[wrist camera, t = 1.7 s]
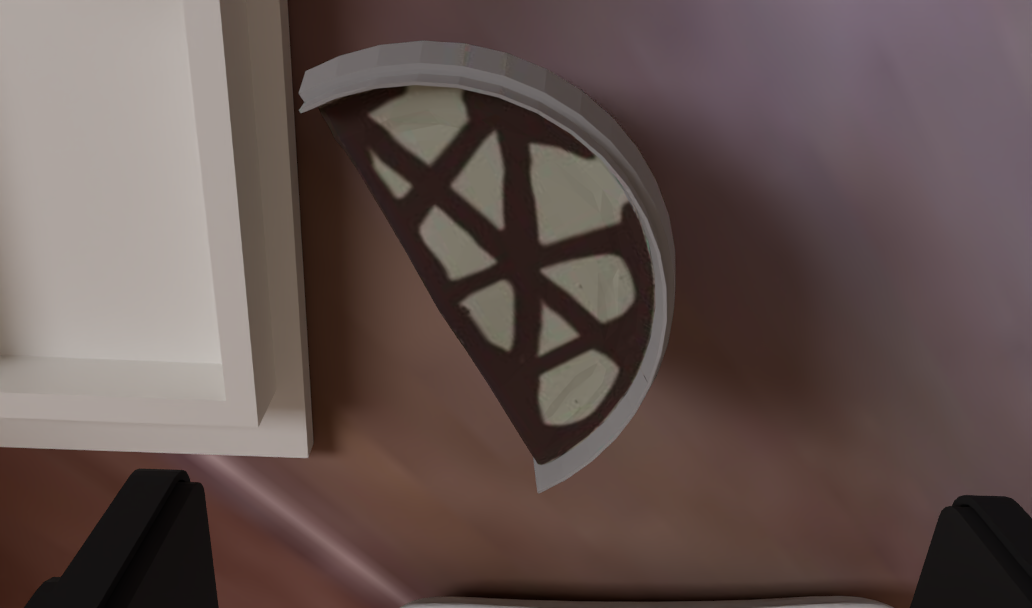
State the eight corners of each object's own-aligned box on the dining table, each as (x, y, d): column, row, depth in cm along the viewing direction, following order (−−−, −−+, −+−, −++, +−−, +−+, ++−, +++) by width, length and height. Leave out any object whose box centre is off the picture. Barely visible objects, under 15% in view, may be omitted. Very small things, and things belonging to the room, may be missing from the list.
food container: (688, 265, 30) (767, 416, 21) (535, 336, 31) (547, 508, 22) (533, -69, 25) (548, -61, 16) (359, 29, 26) (283, 87, 17)
